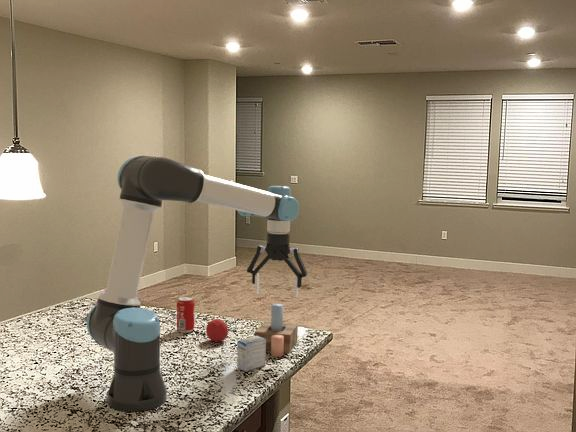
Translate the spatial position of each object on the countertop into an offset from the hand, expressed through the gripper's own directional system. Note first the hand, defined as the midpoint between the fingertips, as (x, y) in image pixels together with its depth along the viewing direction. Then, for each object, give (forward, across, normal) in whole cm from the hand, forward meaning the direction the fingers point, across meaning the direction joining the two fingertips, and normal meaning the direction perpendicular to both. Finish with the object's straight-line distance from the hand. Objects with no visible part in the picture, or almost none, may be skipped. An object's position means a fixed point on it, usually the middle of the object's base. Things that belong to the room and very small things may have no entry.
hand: (276, 295), depth 209 cm
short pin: (+18, -3, +8) cm, 20 cm away
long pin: (+17, 0, -1) cm, 17 cm away
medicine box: (+18, +2, +21) cm, 28 cm away
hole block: (+17, 0, -1) cm, 17 cm away
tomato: (+18, +20, 0) cm, 27 cm away
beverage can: (+18, +35, -8) cm, 40 cm away
